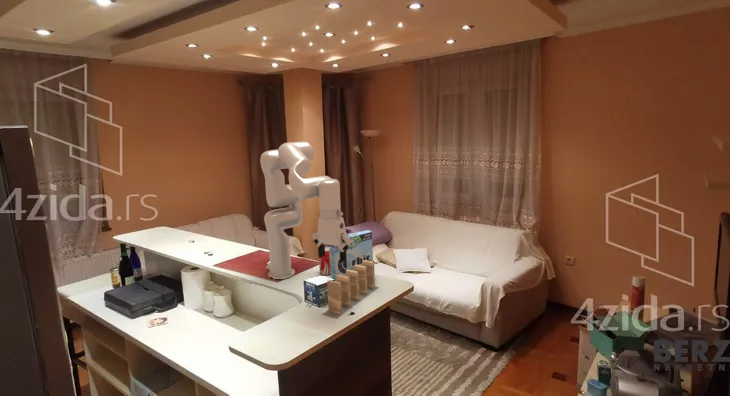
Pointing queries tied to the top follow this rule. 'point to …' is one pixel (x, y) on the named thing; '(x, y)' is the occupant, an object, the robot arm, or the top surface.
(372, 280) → the wooden domino
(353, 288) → the tile
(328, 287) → the tile
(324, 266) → the soda can
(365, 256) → the gum box
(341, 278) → the tile
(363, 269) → the tile
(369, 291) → the mat
